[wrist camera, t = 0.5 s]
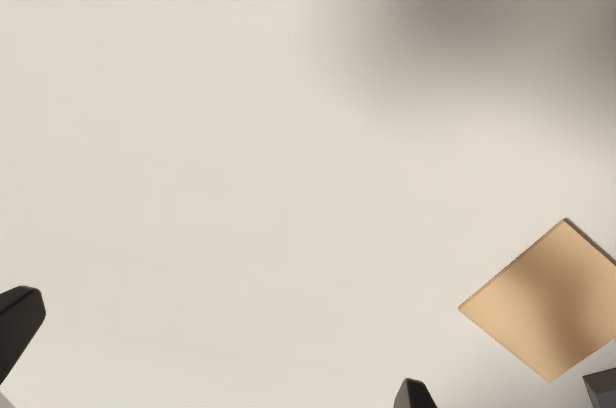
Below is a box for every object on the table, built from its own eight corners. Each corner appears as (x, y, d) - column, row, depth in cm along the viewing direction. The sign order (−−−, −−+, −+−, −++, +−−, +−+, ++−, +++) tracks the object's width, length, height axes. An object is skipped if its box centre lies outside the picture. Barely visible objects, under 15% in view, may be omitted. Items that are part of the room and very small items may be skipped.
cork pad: (546, 379, 26) (548, 382, 25) (457, 307, 25) (458, 310, 25) (657, 303, 23) (660, 305, 23) (562, 219, 22) (565, 221, 22)
